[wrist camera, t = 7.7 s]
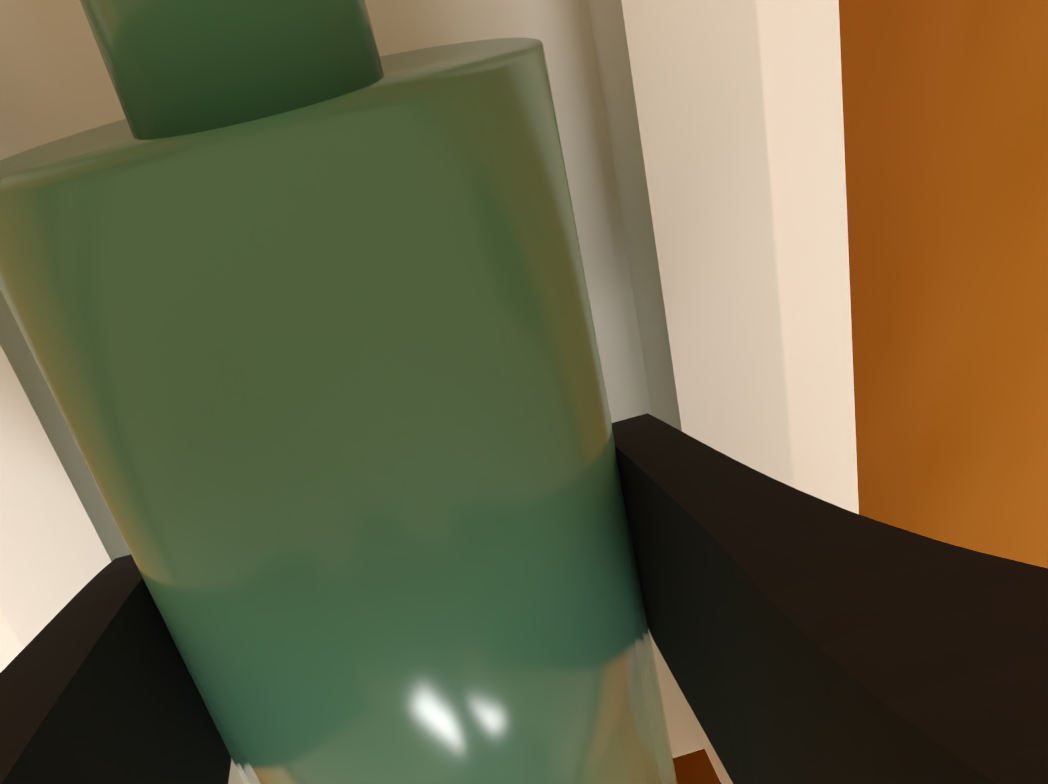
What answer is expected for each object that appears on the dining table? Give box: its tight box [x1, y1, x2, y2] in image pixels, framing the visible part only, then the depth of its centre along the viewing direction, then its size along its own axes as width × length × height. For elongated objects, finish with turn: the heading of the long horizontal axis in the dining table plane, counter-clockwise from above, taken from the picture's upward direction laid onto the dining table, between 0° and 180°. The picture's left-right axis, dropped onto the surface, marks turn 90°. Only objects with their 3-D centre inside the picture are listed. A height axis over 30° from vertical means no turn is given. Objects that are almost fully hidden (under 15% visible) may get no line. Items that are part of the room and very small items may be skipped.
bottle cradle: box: [0, 0, 859, 784], centre depth 13 cm, size 16×14×2 cm
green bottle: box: [0, 0, 677, 784], centre depth 9 cm, size 14×5×5 cm, turn 11°
